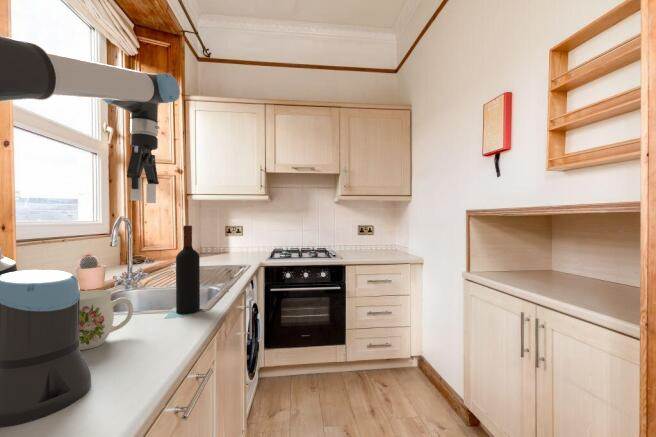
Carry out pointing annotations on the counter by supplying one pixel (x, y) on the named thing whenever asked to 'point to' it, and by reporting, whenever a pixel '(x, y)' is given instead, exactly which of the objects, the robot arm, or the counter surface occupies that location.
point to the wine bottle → (187, 276)
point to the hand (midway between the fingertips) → (144, 202)
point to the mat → (174, 315)
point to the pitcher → (98, 317)
